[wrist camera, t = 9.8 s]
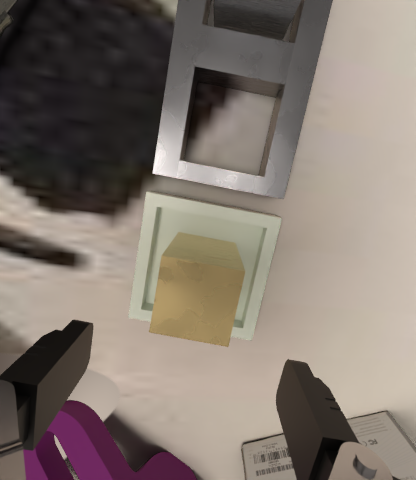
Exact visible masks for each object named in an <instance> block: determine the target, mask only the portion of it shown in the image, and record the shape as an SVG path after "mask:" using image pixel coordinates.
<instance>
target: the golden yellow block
mask: <svg viewBox="0 0 416 480" xmlns="http://www.w3.org/2000/svg"><path fill="white" fill-rule="evenodd" d="M244 276H245V269H244V266H243V263H242V260H241V257H240V254H239V252H238V249H237V246H236V243H234V242H229V241H223V240H218V239H213V238H208V237H203V236H197V235H192V234H187V233H182V232H178V233H177V235H176V236H175V238H174V239H173V240H172V242H171V243H170V245H169V246H168V247H167V249H166V250H165V251H164V253H163V254H162V256H161V262H160V268H159V274H158V281H157V287H156V293H155V299H154V305H153V311H152V318H151V324H150V330H149V332H151V333H156V334H161V335H167V336H172V337H178V338H183V339H188V340H194V341H199V342H205V343H210V344H215V345H221V346H226V347H228V346H229V341H230V337H231V333H232V328H233V324H234V319H235V315H236V311H237V306H238V302H239V298H240V293H241V289H242V284H243V280H244Z"/></svg>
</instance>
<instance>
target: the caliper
mask: <svg viewBox="0 0 416 480" xmlns="http://www.w3.org/2000/svg"><path fill="white" fill-rule="evenodd" d="M17 1H18V0H0V37H1V36H2V34H3V32H4V30H5V29H6V28H7V27H9V26H10V25H11V24H12V23H13V21H14V20H13V18H12V17H11V15H10V14H9V11H10V9H11V8H12V7H13V6H14V4H15V3H16V2H17Z"/></svg>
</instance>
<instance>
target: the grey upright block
mask: <svg viewBox="0 0 416 480" xmlns="http://www.w3.org/2000/svg"><path fill="white" fill-rule="evenodd" d="M300 2H301V0H214V27H218V28H222V29H227V30H232V31H237V32H242V33H247V34H251V35H256V36H261V37H266V38H271V39H276V40H281V41H282V40H283V38H284V35H285V33H286V31H287V29H288V27H289V25H290V23H291V21H292V19H293V17H294V14H295V12H296V10H297V8H298V6H299V4H300Z"/></svg>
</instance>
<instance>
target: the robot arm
mask: <svg viewBox="0 0 416 480" xmlns="http://www.w3.org/2000/svg"><path fill="white" fill-rule="evenodd" d="M92 335H93V323H89V322H84V321H78V320H72V321H71V322H70V323H69V324H68V325H67V326H66V327H65V328H64V329H63V330H62V331H60V330H54V331H52V332H50V333H48V334H46V335H44V336H42V337H41V338H40V339H39V340H38V341H37V342H36V343H35V344H34V345H33V346H31V347H30V348H29V349H28V350H27V351H26V353H25V354H23V355H22V356H21V357H20V358H19V359H17V360H16V361H15V362H14V363H13V364H12V365H11V366H10V367H9V368H8V369H7V370H6V371H4V372H3V373H2V374H1V375H0V480H26V475H25V464H24V454H23V449H24V450H30V451H33V450H34V449H35V447H36V446H37V444H38V443H39V441H40V440H41V438H42V436H43V435H44V433H45V432H46V430H47V429H48V427H49V426H50V424H51V423H52V421H53V420H54V418H55V417H56V415H57V414H58V412H59V411H60V409H61V408H62V406H63V405H64V403H65V402H66V400H67V399H68V397H69V396H70V394H71V393H72V391H73V389H74V388H75V386H76V385H77V383H78V382H79V380H80V379H81V377H82V376H83V374H84V372H85V371H86V369H87V366H88V363H89V359H90V352H91V344H92ZM276 406H277V411H278V414H279V418H280V421H281V425H282V429H283V432H284V436H285V439H286V443H287V446H288V450H289V454H290V457H291V461H292V464H293V468H294V471H295V475H296V479H297V480H400V479H398V478H396V477H394V476H392V474H391V472H390V470H389V468H388V466H387V465H386V464H385V462H384V461H383V460H382V459H381V458H380V457H379V456H378V455H377V454H376V453H374V452H373V451H372V450H370V449H369V448H367V447H365V446H363V445H361V444H360V443H359V441H358V439H357V438H356V436H355V434H354V432H353V430H352V429H351V427H350V425H349V423H348V421H347V420H346V418H345V416H344V414H343V412H342V411H341V409H340V407H339V405H338V403H337V402H335V398H334V396H333V394H332V393H331V391H330V389H329V388H328V387H327V386H326V385H325V384H324V383H323V382H322V381H321V380H320V379H319V378H315V377H314V376H313V374H312V372H311V370H310V368H309V366H308V364H307V363H305V362H300V361H294V360H289V359H288V360H287V361H286V362H285V365H284V369H283V372H282V376H281V379H280V383H279V386H278V390H277V394H276Z"/></svg>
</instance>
